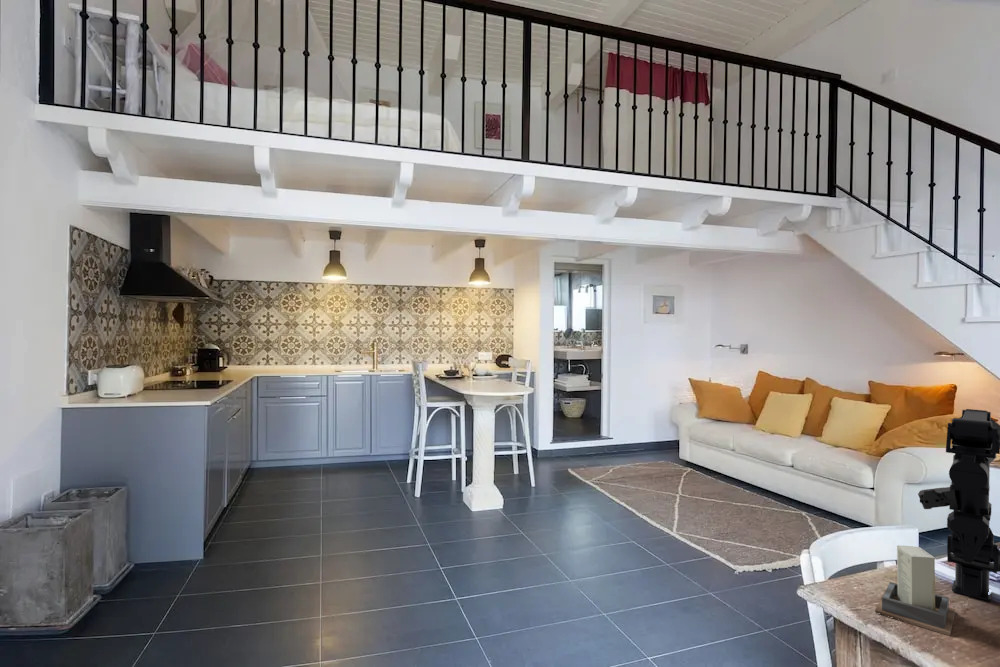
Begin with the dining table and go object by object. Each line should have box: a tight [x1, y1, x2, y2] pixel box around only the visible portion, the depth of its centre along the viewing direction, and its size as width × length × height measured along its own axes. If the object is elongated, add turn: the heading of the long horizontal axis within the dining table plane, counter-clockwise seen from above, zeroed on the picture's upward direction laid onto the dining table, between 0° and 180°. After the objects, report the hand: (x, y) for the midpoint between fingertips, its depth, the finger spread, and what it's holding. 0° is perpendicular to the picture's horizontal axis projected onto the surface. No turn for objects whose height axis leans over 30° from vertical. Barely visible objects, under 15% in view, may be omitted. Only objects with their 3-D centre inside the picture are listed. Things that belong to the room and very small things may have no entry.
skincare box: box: [896, 544, 936, 611], centre depth 113 cm, size 6×4×12 cm
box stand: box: [874, 581, 956, 637], centre depth 113 cm, size 12×12×3 cm
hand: (969, 554), depth 113 cm, fingers open, 9 cm apart
